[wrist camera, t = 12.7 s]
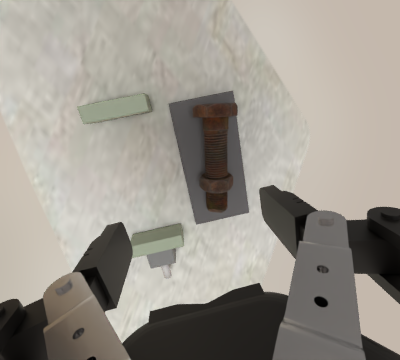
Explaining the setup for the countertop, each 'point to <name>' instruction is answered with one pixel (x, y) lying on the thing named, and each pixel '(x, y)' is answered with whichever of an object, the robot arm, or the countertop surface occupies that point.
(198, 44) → the countertop surface
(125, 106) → the rails
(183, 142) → the mat
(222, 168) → the bolt
